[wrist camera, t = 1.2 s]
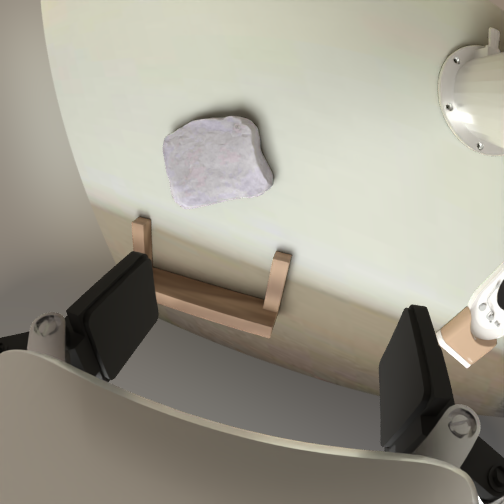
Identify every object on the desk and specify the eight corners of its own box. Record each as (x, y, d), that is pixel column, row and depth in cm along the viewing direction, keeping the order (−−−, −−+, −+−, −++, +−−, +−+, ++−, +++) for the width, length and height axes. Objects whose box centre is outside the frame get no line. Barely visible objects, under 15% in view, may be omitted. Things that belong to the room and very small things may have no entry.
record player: (434, 341, 35) (537, 240, 25) (430, 326, 38) (527, 230, 27) (471, 372, 36) (562, 288, 25) (467, 358, 38) (553, 277, 28)
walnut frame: (139, 216, 42) (118, 231, 37) (291, 254, 38) (284, 276, 34) (142, 273, 47) (125, 291, 43) (277, 314, 43) (269, 338, 39)
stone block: (173, 134, 37) (189, 208, 39) (152, 132, 32) (170, 215, 34) (260, 108, 33) (278, 190, 35) (248, 101, 28) (269, 194, 31)
